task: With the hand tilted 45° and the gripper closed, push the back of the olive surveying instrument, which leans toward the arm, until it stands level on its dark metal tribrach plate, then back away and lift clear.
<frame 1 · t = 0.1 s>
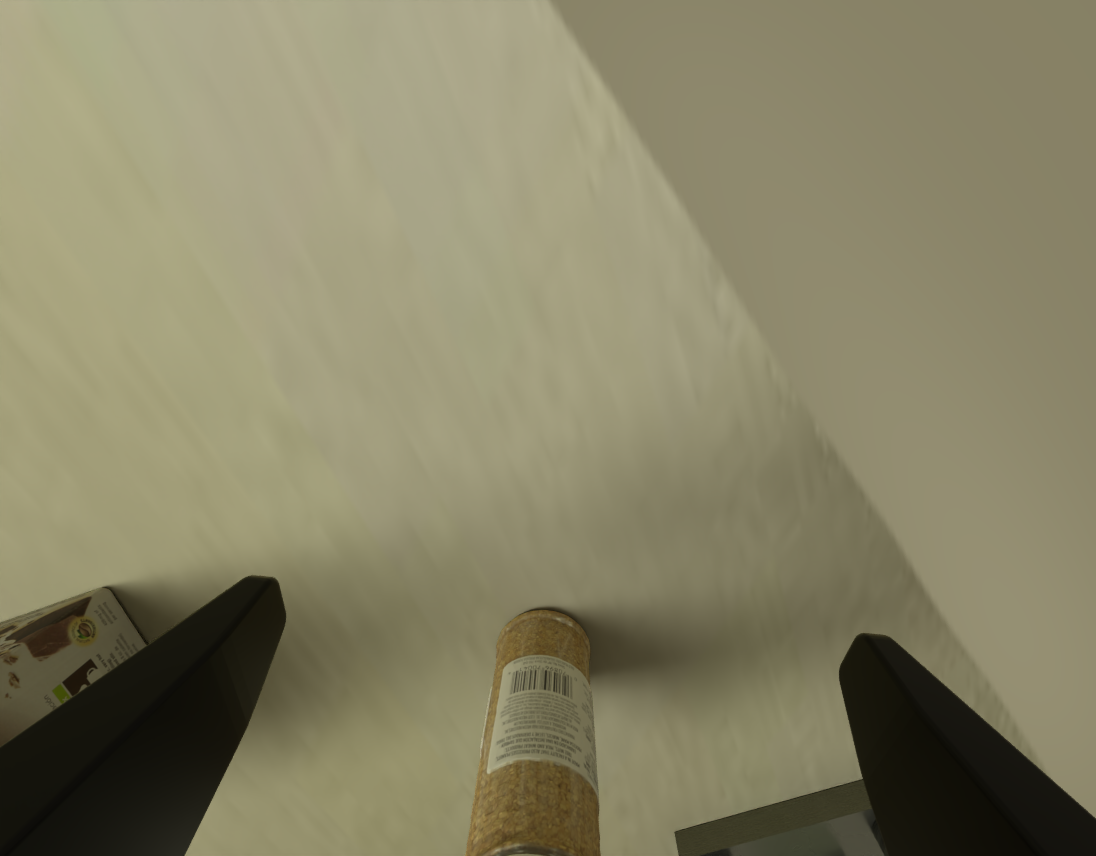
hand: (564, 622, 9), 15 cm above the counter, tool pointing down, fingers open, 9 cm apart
coffee box: (70, 656, 29), on the counter
sprinkles bottle: (544, 643, 27), on the counter
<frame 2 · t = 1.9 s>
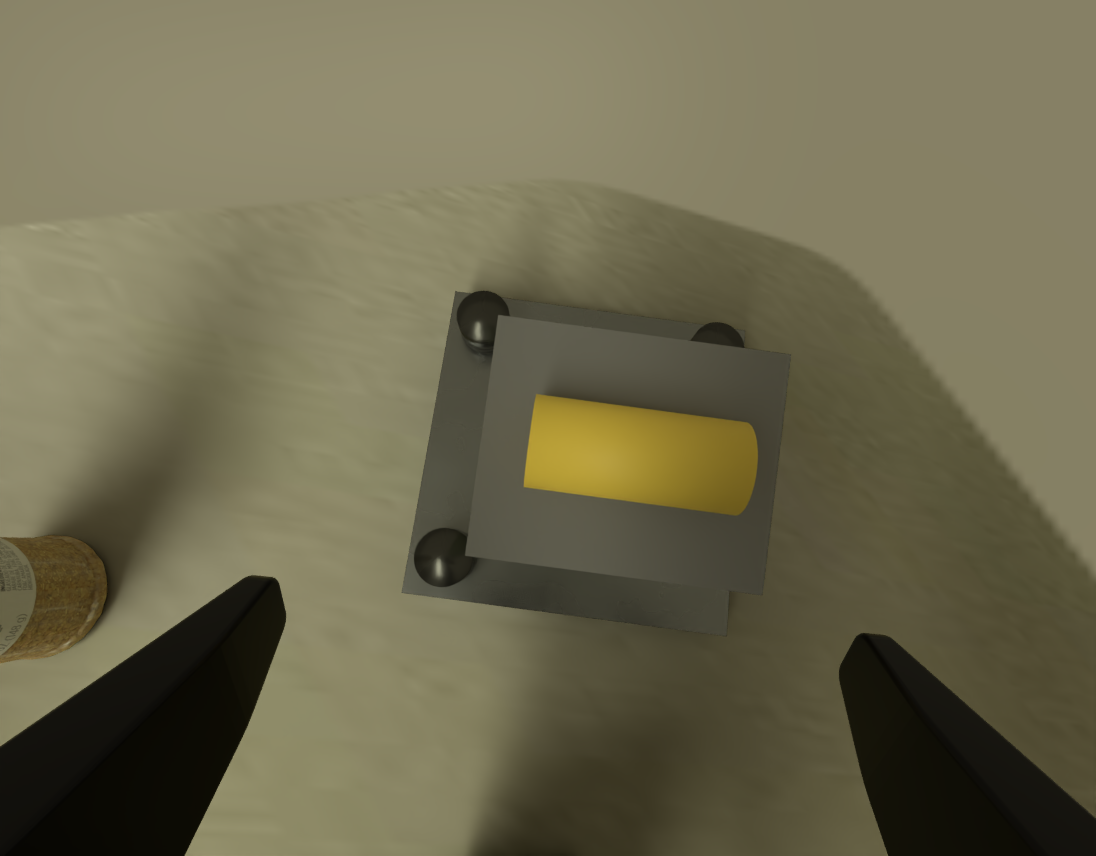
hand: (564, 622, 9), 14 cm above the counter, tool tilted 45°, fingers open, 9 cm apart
tribrach plate: (580, 459, 23), on the counter
sprinkles bottle: (58, 592, 22), on the counter
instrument: (602, 452, 15), point 8 cm above the counter, hinge at -10.0°
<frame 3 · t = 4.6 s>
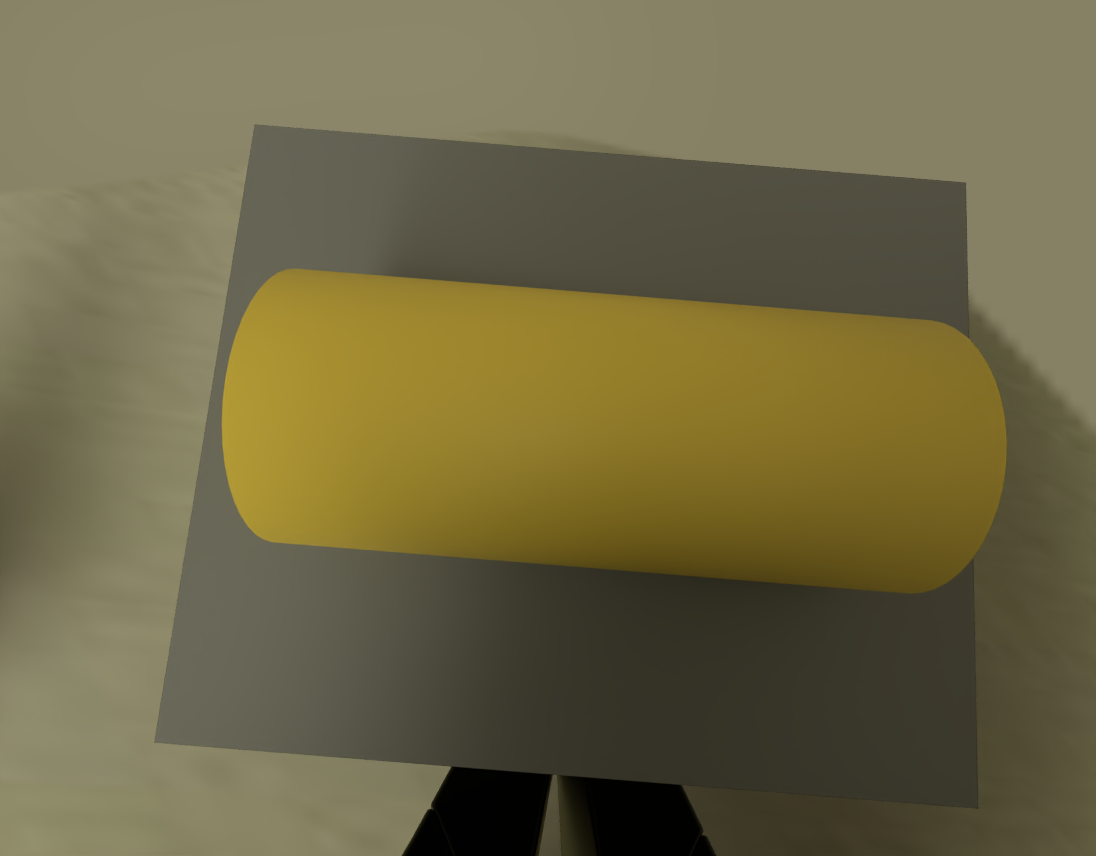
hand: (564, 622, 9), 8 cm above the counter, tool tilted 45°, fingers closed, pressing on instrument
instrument: (563, 475, 9), point 8 cm above the counter, hinge at -6.1°, touching gripper
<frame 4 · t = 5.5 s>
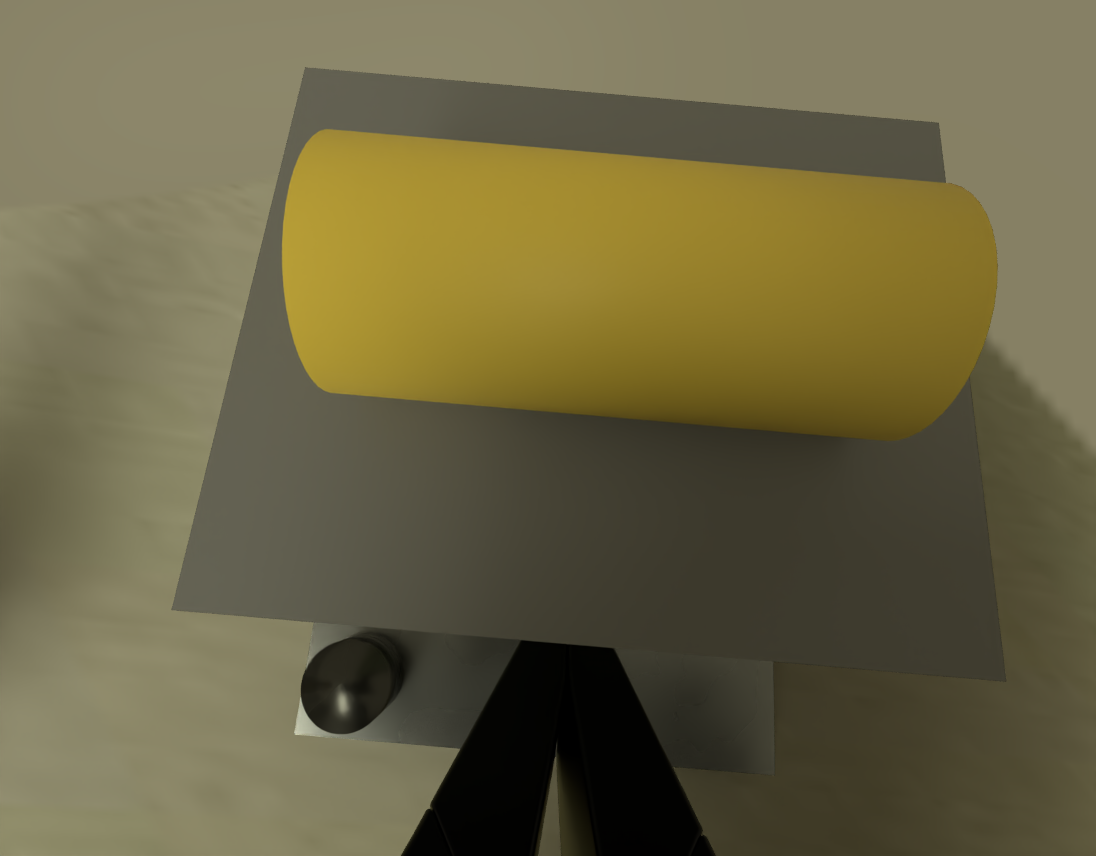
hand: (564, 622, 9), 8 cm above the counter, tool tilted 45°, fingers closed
tribrach plate: (552, 517, 17), on the counter
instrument: (569, 462, 9), point 8 cm above the counter, hinge at 1.0°
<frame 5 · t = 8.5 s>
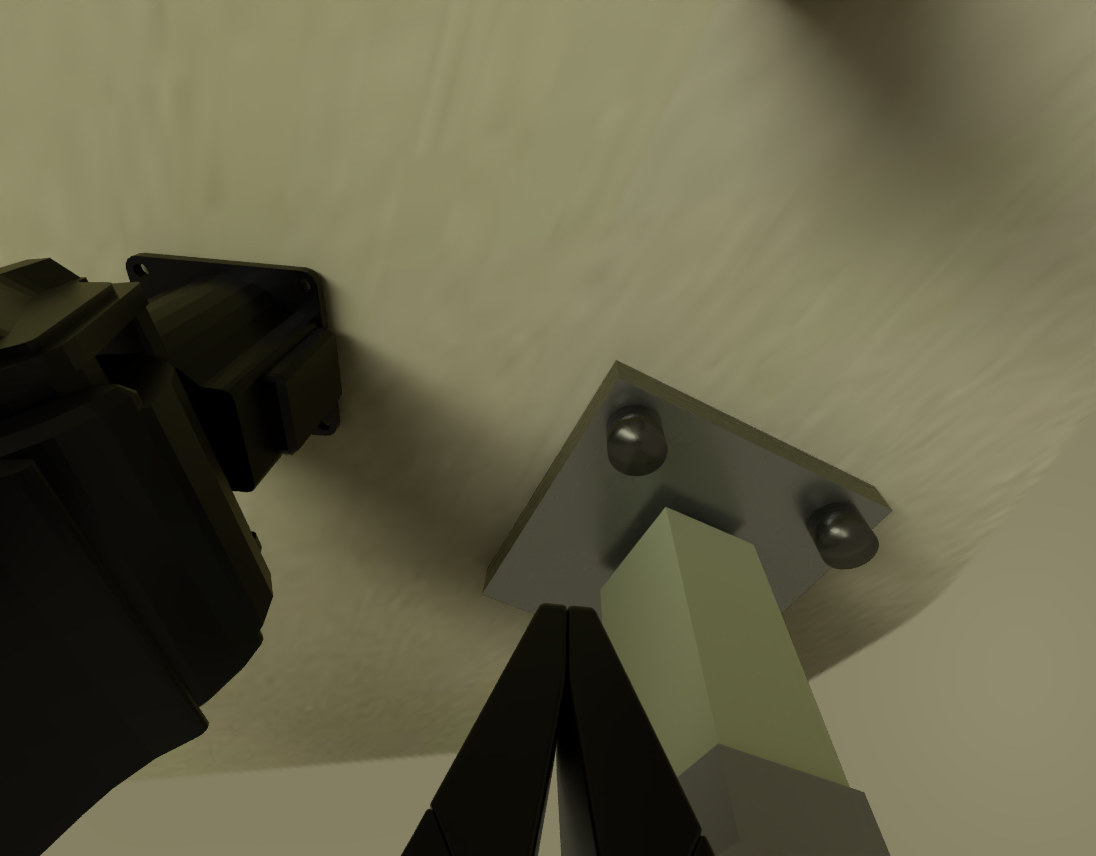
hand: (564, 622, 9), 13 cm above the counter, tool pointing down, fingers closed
tribrach plate: (667, 531, 25), on the counter
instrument: (705, 715, 17), point 8 cm above the counter, hinge at 1.0°
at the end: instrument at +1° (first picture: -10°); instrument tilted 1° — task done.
